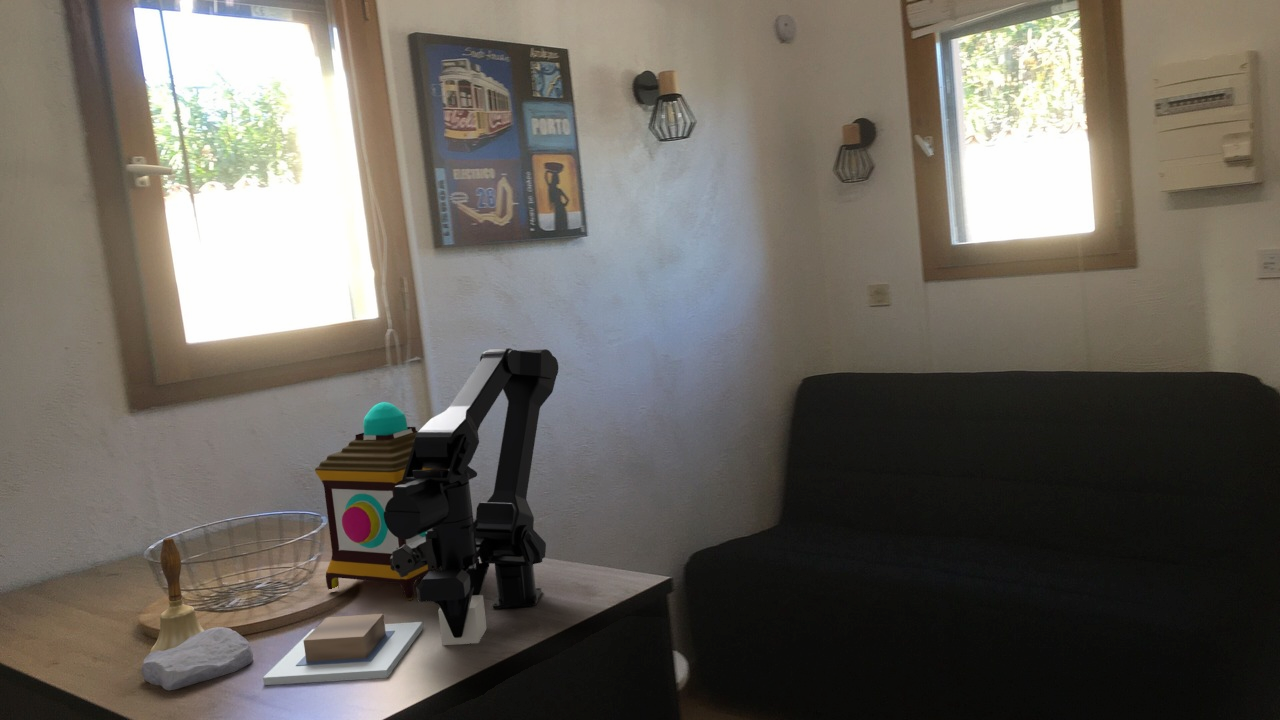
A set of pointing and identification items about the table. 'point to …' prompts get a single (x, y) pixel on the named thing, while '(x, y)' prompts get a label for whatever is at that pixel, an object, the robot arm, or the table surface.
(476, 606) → the plastic cube
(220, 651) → the stone block
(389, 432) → the decorative lantern
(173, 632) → the hand bell
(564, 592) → the table surface
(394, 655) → the board
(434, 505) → the robot arm
